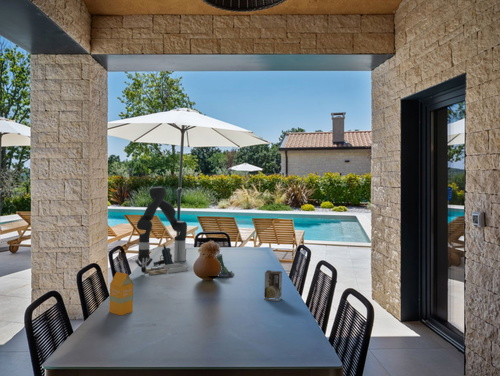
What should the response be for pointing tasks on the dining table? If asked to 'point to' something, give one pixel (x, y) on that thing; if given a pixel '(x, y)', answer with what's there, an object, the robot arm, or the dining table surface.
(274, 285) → the coffee box
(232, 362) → the dining table surface
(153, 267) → the dark gray rectangular block
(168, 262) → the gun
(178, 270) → the tray
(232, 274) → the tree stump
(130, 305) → the orange juice
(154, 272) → the slotted rail
